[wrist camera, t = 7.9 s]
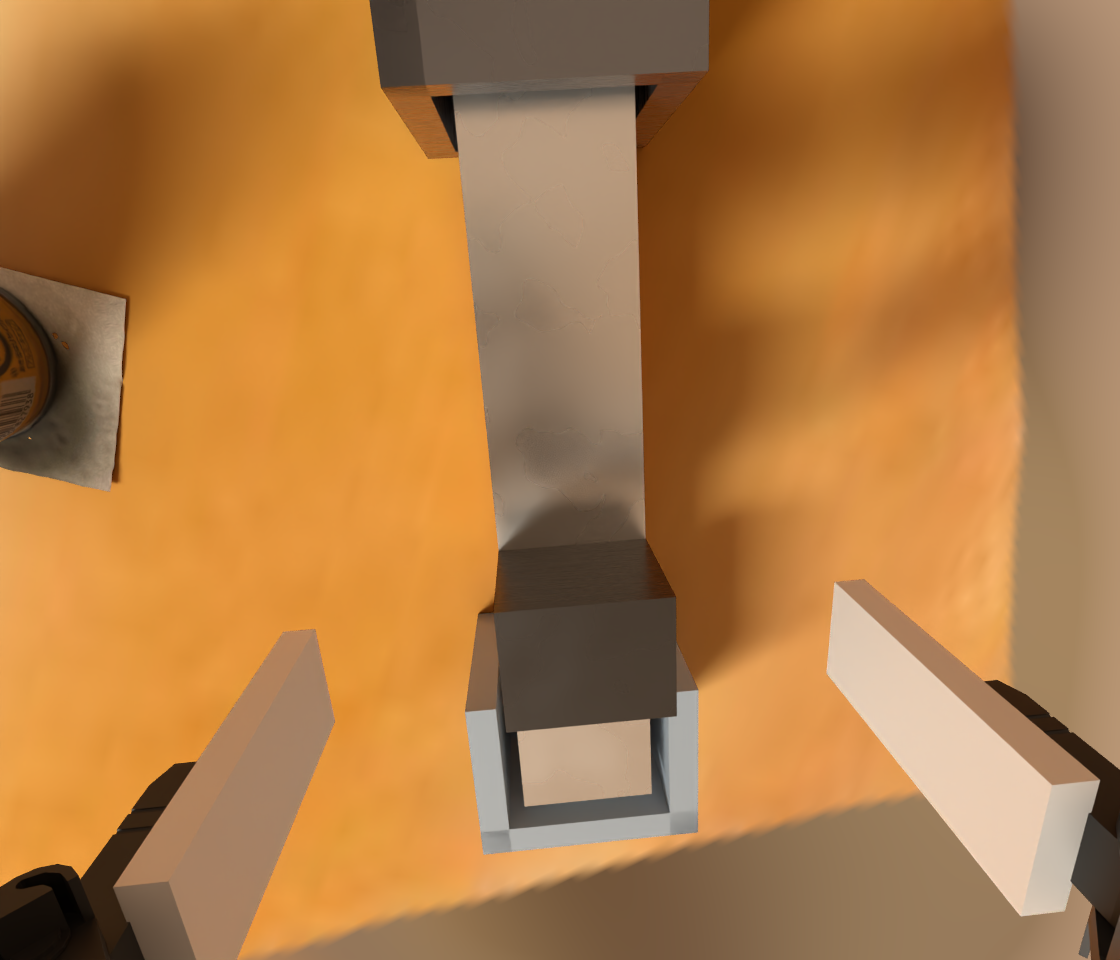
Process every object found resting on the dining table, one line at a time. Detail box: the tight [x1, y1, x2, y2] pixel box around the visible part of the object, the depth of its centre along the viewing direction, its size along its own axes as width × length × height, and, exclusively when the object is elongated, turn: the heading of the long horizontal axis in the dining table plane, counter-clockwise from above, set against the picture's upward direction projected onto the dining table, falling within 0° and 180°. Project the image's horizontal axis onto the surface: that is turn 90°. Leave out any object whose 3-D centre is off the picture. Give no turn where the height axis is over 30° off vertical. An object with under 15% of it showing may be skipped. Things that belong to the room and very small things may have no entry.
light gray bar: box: [453, 86, 677, 807], centre depth 19 cm, size 22×4×9 cm, turn 4°
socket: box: [465, 613, 698, 854], centre depth 24 cm, size 6×8×6 cm
